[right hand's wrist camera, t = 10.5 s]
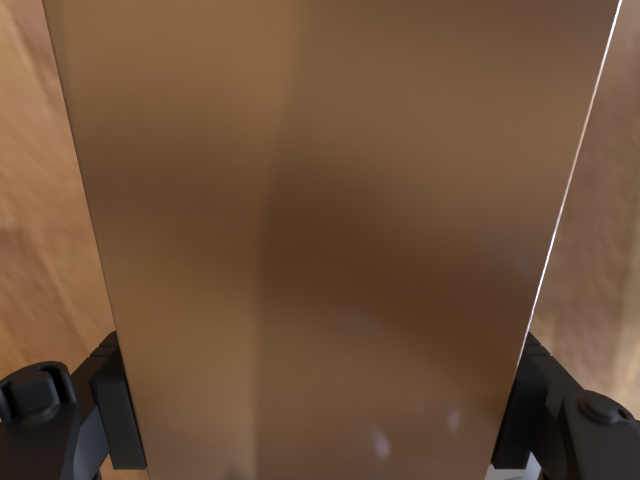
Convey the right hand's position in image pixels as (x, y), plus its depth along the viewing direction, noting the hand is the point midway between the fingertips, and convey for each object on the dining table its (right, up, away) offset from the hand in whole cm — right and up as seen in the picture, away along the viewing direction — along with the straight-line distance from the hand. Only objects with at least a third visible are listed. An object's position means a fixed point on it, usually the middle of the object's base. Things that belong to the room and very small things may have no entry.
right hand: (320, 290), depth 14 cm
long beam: (+1, +28, -10) cm, 29 cm away
